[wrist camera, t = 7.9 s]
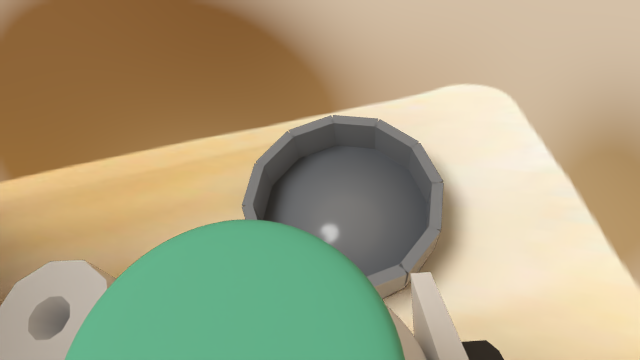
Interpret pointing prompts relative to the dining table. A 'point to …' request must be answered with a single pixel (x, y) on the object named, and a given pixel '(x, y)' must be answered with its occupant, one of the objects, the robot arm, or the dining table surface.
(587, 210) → the dining table surface
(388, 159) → the bowl
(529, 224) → the dining table surface
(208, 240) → the milk bottle
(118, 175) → the dining table surface
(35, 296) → the toilet tissue
